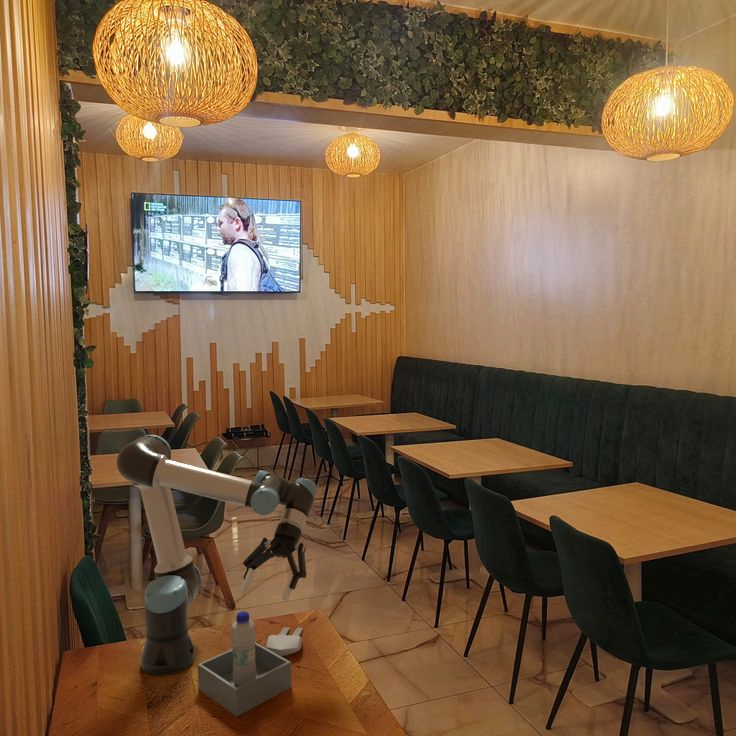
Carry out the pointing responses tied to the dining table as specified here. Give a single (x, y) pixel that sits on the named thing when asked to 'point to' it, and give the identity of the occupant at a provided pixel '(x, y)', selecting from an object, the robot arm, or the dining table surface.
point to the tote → (238, 700)
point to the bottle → (243, 649)
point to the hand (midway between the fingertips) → (263, 595)
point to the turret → (285, 642)
